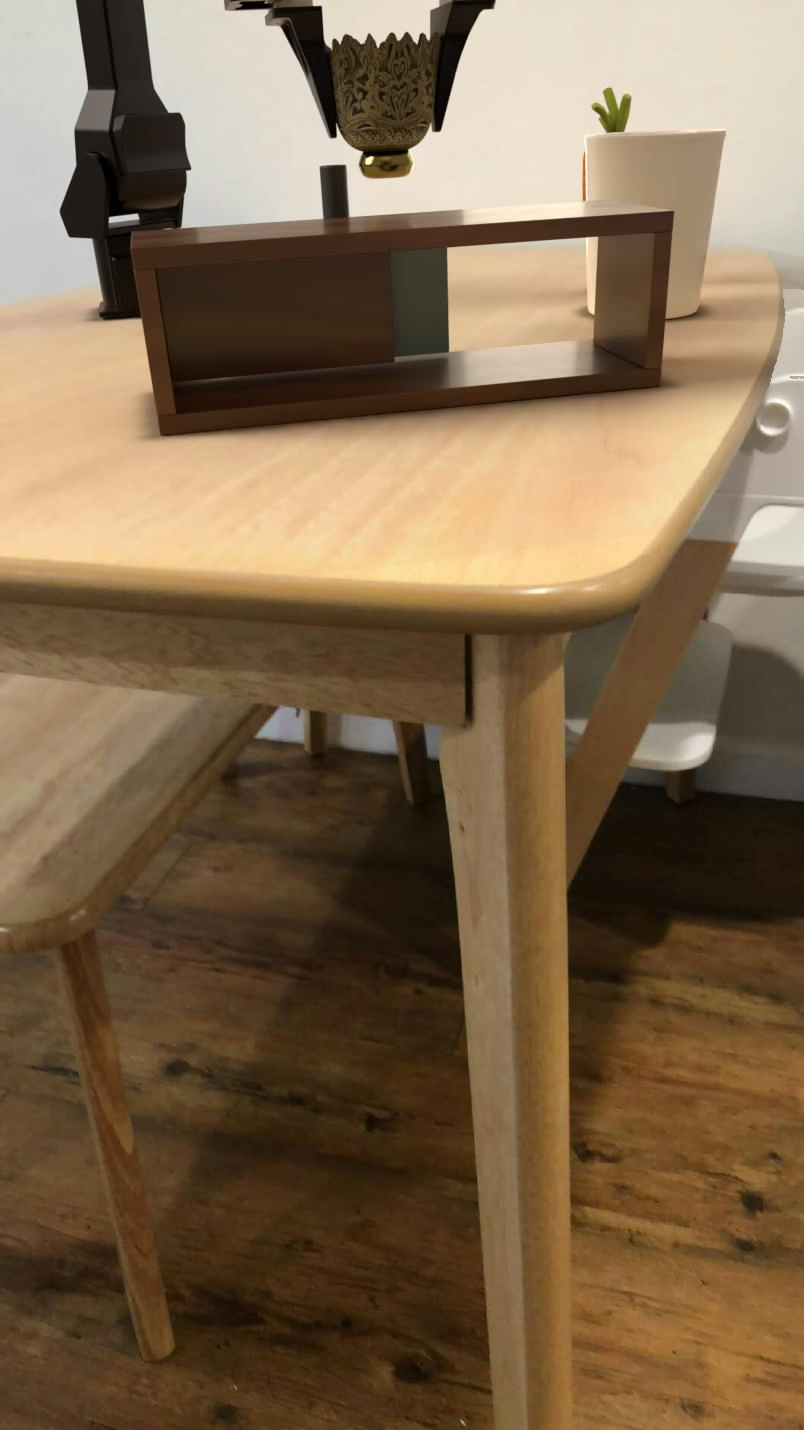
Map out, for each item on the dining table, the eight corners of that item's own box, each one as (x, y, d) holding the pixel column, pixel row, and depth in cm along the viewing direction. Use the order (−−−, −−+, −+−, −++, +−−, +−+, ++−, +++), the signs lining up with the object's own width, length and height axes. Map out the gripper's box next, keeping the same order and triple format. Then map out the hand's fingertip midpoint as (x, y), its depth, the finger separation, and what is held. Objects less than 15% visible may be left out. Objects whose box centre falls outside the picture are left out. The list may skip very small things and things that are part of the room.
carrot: (635, 292, 88) (649, 84, 81) (576, 293, 89) (583, 88, 82) (636, 283, 92) (649, 85, 85) (579, 284, 93) (587, 88, 86)
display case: (157, 395, 62) (130, 230, 58) (597, 354, 67) (605, 199, 63) (160, 435, 54) (130, 247, 50) (660, 386, 59) (674, 210, 55)
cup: (317, 179, 72) (306, 41, 68) (416, 172, 74) (412, 38, 70) (353, 182, 66) (343, 31, 62) (460, 175, 68) (457, 28, 64)
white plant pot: (556, 307, 83) (561, 135, 77) (665, 296, 85) (679, 128, 79) (615, 327, 75) (626, 136, 69) (734, 314, 77) (755, 128, 71)
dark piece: (223, 354, 66) (201, 172, 61) (428, 336, 68) (423, 159, 63) (230, 372, 62) (206, 176, 56) (449, 352, 64) (445, 162, 59)
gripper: (216, -208, 52) (254, 144, 60) (569, -211, 55) (561, 126, 63) (205, -156, 62) (239, 143, 70) (506, -161, 65) (507, 127, 73)
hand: (384, 135), depth 69 cm, fingers closed on cup, 7 cm apart
